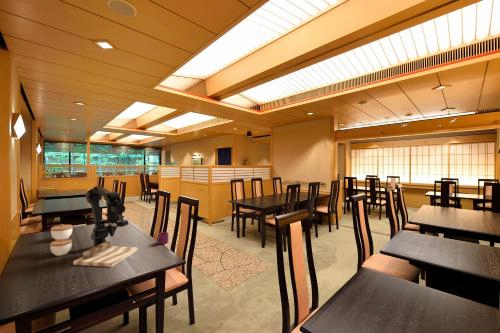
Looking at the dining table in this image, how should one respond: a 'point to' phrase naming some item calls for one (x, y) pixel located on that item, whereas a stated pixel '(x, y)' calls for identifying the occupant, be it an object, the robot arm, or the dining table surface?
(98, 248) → the stool leg
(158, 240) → the mug
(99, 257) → the stool board
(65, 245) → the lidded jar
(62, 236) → the lidded bowl
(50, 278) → the dining table surface
